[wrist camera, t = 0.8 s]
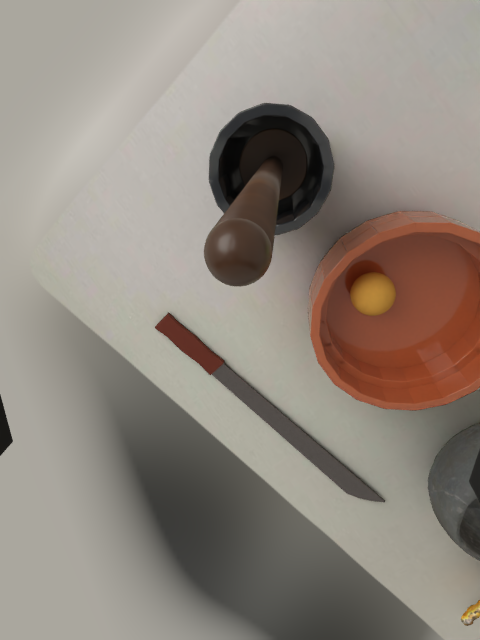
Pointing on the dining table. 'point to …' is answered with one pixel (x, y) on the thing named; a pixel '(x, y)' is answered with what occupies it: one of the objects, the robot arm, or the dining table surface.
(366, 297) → the ball
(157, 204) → the dining table surface
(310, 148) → the crock
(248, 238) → the wooden plunger
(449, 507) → the bowl
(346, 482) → the knife
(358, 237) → the orange plant saucer
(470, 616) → the black and gold pieces
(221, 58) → the dining table surface
